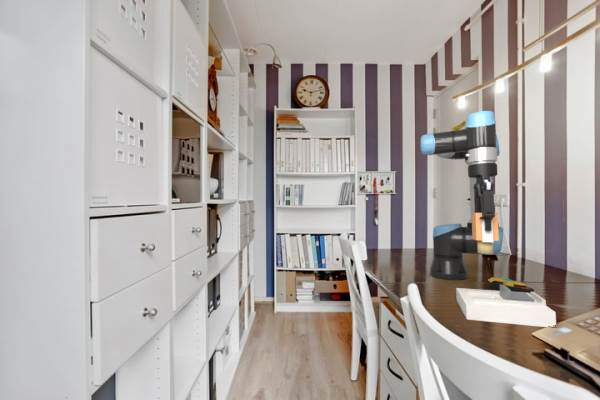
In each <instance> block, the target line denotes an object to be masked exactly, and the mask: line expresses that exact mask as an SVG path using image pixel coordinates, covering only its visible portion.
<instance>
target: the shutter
mask: <svg viewBox="0 0 600 400" xmlns="http://www.w3.org/2000/svg"><path fill="white" fill-rule="evenodd" d="M500 296H501V297H502V298H503V299H504V300H517V301H531V302H534V299H533V298H532V297H530V296H529V295H528V294H526V293H520V292H511V290H510V289H509V288H507V287H506V286H505V285H500Z"/></svg>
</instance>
